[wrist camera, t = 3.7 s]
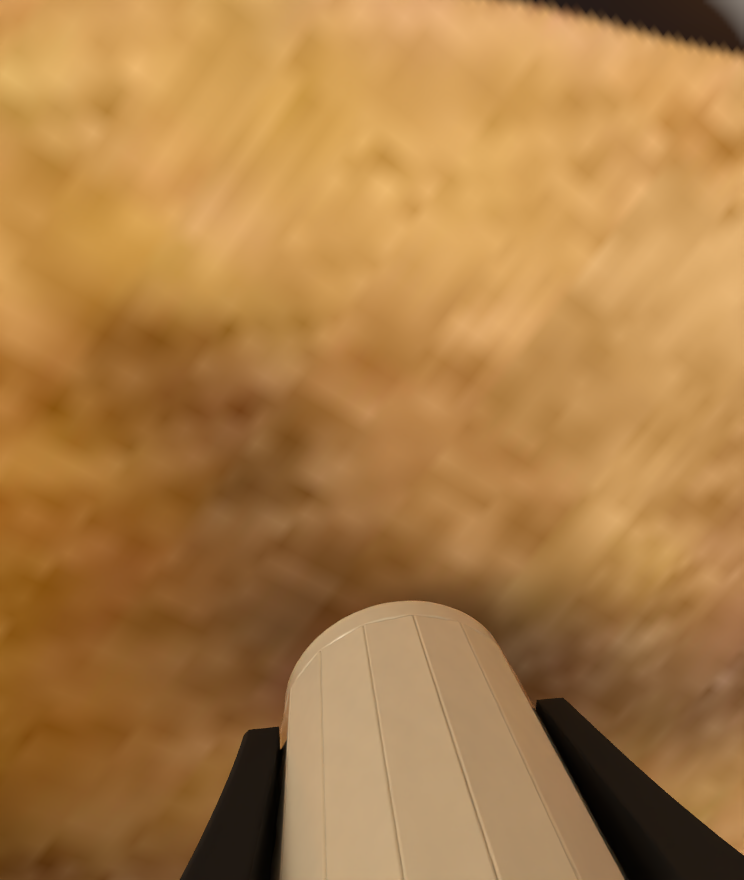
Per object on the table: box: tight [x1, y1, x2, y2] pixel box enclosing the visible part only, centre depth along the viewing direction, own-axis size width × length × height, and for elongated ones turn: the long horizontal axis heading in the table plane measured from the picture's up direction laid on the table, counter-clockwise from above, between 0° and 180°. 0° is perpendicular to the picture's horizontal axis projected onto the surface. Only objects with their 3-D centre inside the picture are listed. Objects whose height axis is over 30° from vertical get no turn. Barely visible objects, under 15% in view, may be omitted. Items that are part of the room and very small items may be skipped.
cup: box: [270, 600, 629, 880], centre depth 9 cm, size 6×6×6 cm
